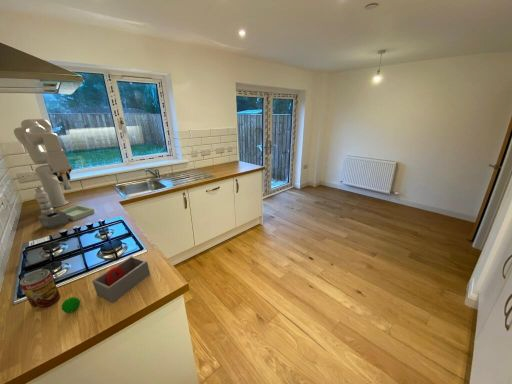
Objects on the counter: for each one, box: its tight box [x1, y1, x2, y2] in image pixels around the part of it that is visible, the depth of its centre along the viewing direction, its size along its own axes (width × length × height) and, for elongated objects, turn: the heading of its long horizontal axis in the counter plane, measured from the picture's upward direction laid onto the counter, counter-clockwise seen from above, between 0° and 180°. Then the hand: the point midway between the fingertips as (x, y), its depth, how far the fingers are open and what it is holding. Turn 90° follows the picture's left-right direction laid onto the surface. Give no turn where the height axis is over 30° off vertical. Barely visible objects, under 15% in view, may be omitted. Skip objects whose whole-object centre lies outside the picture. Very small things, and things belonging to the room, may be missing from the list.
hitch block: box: [37, 210, 70, 230], centre depth 137 cm, size 10×10×7 cm
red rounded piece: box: [105, 265, 125, 286], centre depth 89 cm, size 12×4×8 cm, turn 153°
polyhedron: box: [61, 296, 81, 314], centre depth 77 cm, size 5×5×5 cm
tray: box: [60, 204, 95, 221], centre depth 152 cm, size 18×13×3 cm
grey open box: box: [91, 255, 151, 304], centre depth 88 cm, size 10×17×7 cm, turn 156°
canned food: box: [19, 268, 62, 312], centre depth 79 cm, size 8×8×12 cm
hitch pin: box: [59, 170, 72, 191], centre depth 143 cm, size 5×5×13 cm
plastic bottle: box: [34, 186, 55, 216], centre depth 148 cm, size 6×7×20 cm
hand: (64, 180), depth 143 cm, fingers closed on hitch pin, 3 cm apart
